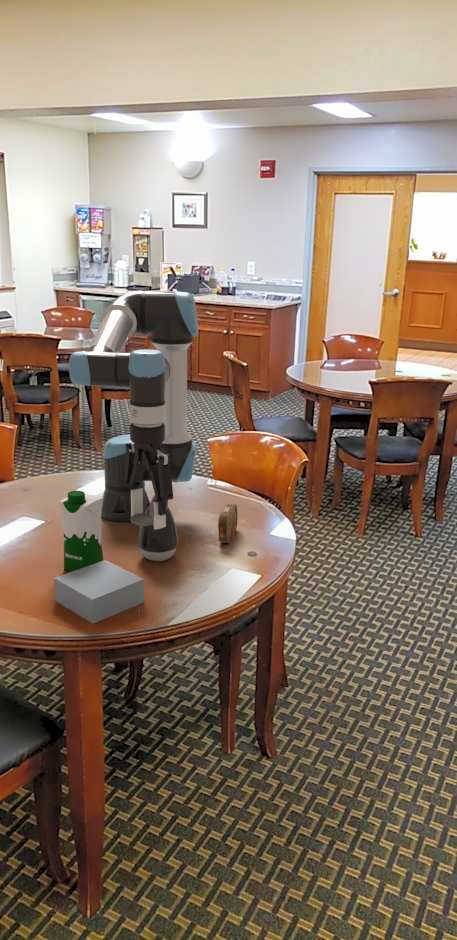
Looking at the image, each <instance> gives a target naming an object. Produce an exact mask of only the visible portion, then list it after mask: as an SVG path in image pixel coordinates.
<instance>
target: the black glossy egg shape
mask: <svg viewBox="0 0 457 940" xmlns="http://www.w3.org/2000/svg"><path fill="white" fill-rule="evenodd" d="M149 509H150V505H149V506H148V508H147V509H146V511H145V513H149ZM176 525H177V524H176V522H175V518H174V516H173V513H172V511H171V509H170V507H169V506H168V509H167V513H166V527H164V528H160V529H156V530H155V529H154V525H151V526H139V532H138V539H137V546H138V548H139V550H140V553H141V555H142V556H143V557H144V558H146V559H147V560H148V561H151V562H163V561H166V560H169V559H170V558H172V557H173V555H174V554H175V553H176V551H177V547H178V545H179V536H178V531H177V530H178V529H177V526H176Z"/></svg>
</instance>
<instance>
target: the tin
mask: <svg viewBox="0 0 457 940" xmlns="http://www.w3.org/2000/svg"><path fill="white" fill-rule="evenodd" d="M217 521H218V522H217V525H218V526H217V527H218V540H219V541H218V542H220V543H221V544H231V543H232V541H233V538H234V537H235V534H236V532H237V529H238V507H237V505H236V503H231V504H230V503H227V504H225V506H224V507H223V509H222V510H221V512H220V514H219V517H218V520H217Z"/></svg>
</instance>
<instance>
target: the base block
mask: <svg viewBox="0 0 457 940" xmlns="http://www.w3.org/2000/svg"><path fill="white" fill-rule="evenodd" d="M53 579H54V580H53V581H54V599H55V602H56V603H58V604H60V605H61V606H62V607H64V608H66V609H68V610H69V611H71V612H73V613H74V614H76V615H78V616H79V617H81V618H83V619H85V620H86V621H87V622H89V623H91V624H93V625H94V624H96V623H98V622H100V621H103V620H105V619H108V618H110V617H112V616H114V615H116V614H119V613H122V612H124V611H127V610H129V609H131V608H133V607H136V606H139V605H140V604H143V603H145V579H144V578H142V577H141V576H138V575H136V574H135V573H132V572H130V571H128V570H126V569H124V568H122V567H120V566H118V565H116V564H114V563H112V562H110V561H109V560H106V559H103V561H101V562H98V563H95V564H92V565H90V566H87V567H84V568H81V569H78V570H76V571H73V572H72V571H69V572H67V573H64V574H62V575H59V576H57V577H54V578H53Z"/></svg>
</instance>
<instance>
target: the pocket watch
mask: <svg viewBox="0 0 457 940" xmlns="http://www.w3.org/2000/svg"><path fill="white" fill-rule="evenodd" d="M160 496H161V494H160ZM153 500H156V497H155V494H154V495H153V496H152V498H151V501H150V509H149V513H140V514H136V515H133V516H132V517H131V523H132V524H134V526H139V527H140V526H151V525H154V501H153ZM168 507H169V500H167V509H168Z"/></svg>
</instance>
